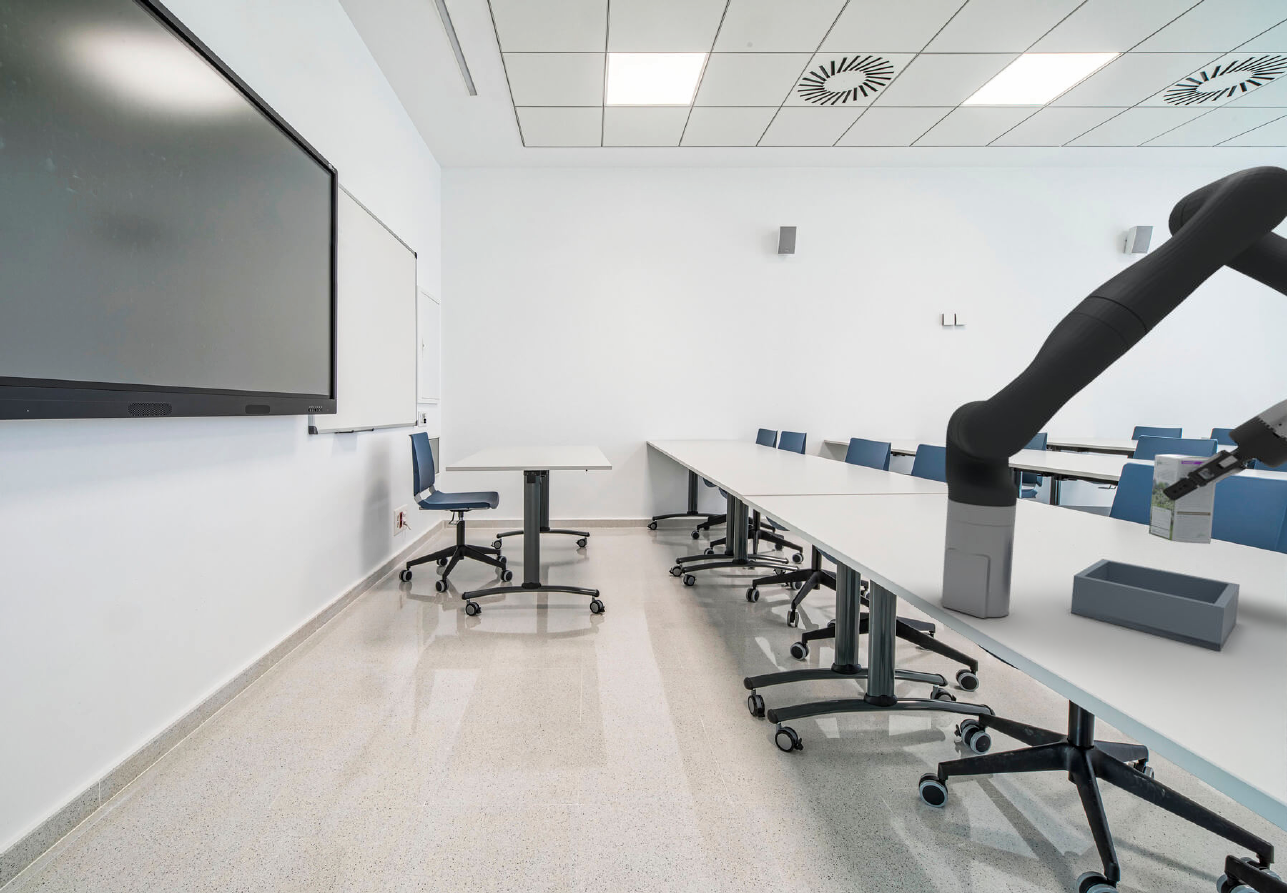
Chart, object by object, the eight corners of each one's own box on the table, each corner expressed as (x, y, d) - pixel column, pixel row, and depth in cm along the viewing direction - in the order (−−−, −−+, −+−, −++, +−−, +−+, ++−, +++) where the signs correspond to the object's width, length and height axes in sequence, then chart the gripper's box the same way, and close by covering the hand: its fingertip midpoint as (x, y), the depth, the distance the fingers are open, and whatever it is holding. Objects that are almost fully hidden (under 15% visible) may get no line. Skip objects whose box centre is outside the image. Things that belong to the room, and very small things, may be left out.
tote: (1219, 651, 70) (1224, 607, 70) (1070, 612, 83) (1073, 575, 83) (1235, 623, 80) (1239, 584, 80) (1099, 592, 93) (1102, 558, 92)
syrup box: (1212, 544, 88) (1221, 457, 87) (1170, 541, 89) (1178, 456, 88) (1185, 536, 93) (1193, 454, 92) (1145, 534, 94) (1153, 453, 93)
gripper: (1264, 414, 87) (1161, 474, 98) (1254, 413, 79) (1143, 479, 89) (1311, 448, 84) (1200, 507, 94) (1307, 451, 75) (1184, 516, 85)
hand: (1172, 494), depth 91 cm, fingers closed on syrup box, 8 cm apart
